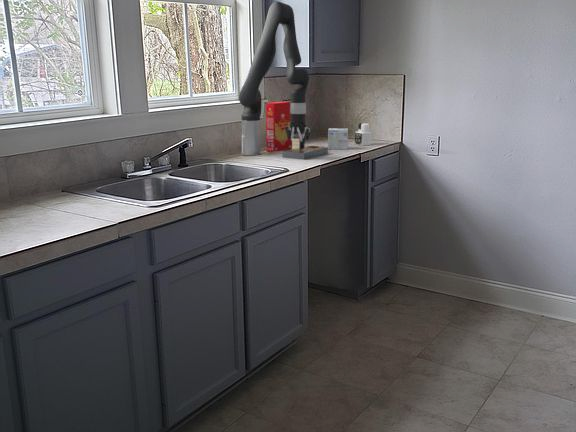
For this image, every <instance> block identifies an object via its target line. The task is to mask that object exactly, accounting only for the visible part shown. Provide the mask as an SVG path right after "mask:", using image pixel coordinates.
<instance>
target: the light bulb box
mask: <svg viewBox="0 0 576 432" xmlns="http://www.w3.org/2000/svg"><path fill="white" fill-rule="evenodd" d="M327 138H328V139H327V148H328V150H348V148H349V128H347V127H346V128H344V127H343V128H340V127H339V128H338V127H337V128H330V127H329V128H328V130H327Z"/></svg>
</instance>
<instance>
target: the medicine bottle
mask: <svg viewBox="0 0 576 432" xmlns="http://www.w3.org/2000/svg"><path fill="white" fill-rule="evenodd" d="M354 145H357V146H372V145H373V132H372V131H370V123H368V122H360V123H358V130H357V131H355V133H354Z"/></svg>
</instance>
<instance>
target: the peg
mask: <svg viewBox="0 0 576 432" xmlns="http://www.w3.org/2000/svg"><path fill="white" fill-rule="evenodd" d="M300 142H301V141H300V137H296V138H294V139H292V152H303V151H304V149H300Z"/></svg>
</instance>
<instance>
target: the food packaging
mask: <svg viewBox="0 0 576 432" xmlns="http://www.w3.org/2000/svg"><path fill="white" fill-rule="evenodd" d="M290 104H291V101H274V102H266V103H265V111H266V112H265V123H266V124H265V126H266V127H265V130H266V133H265V134H266V138H265V139H266V141H265V142H266V152H267V153H275V152H281V151H286V150H290V149H292V146H291V140H290V139H288V137H287V134H286V130H285V127H288V126H290V124H291V122H290ZM291 133H292V130H291Z"/></svg>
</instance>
